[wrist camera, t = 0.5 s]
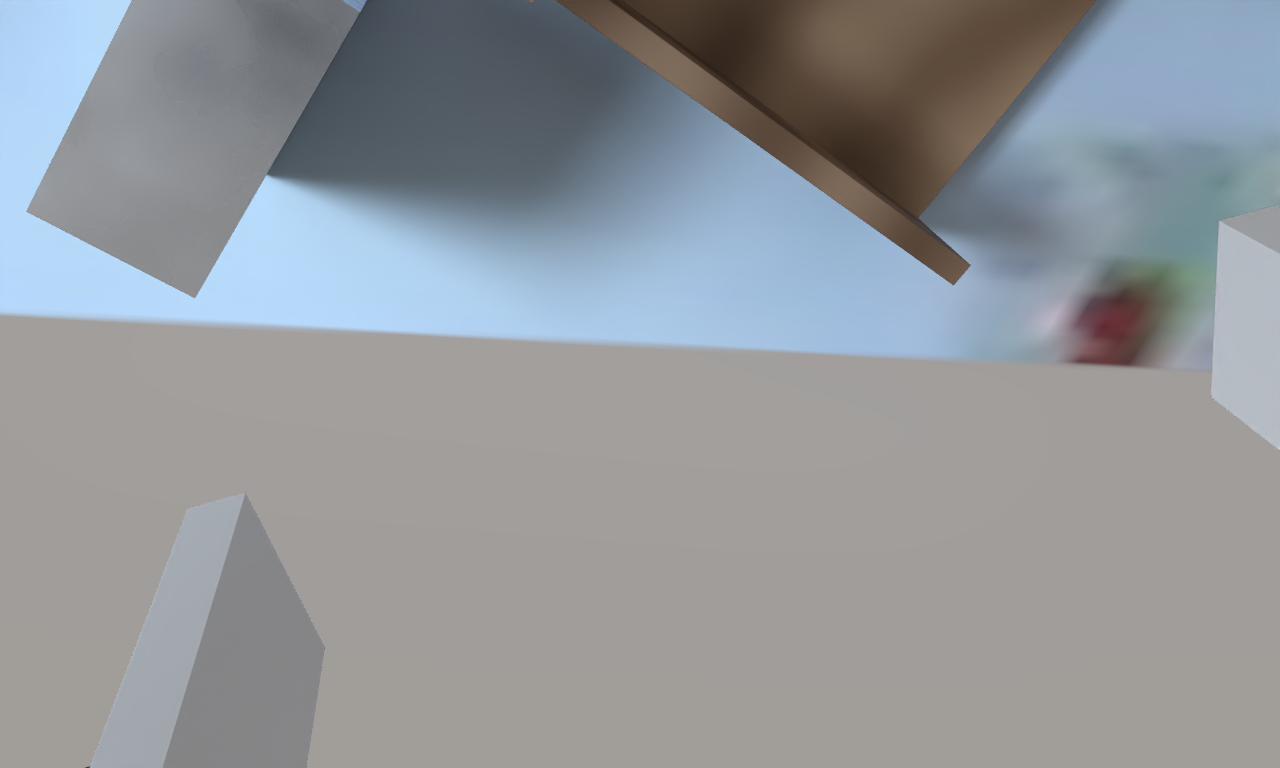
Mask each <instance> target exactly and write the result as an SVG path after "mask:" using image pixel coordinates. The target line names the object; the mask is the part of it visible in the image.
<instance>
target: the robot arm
mask: <svg viewBox="0 0 1280 768" xmlns="http://www.w3.org/2000/svg"><path fill="white" fill-rule="evenodd" d="M1211 397H1212V398H1213V399H1214V400H1216V401H1217V402H1218V403H1220V404H1221V405H1222V406H1223V407H1225V408H1226V409H1227V410H1228V411H1230V412H1231V413H1232V414H1234V415H1235V416H1236V417H1237V418H1239V419H1240V420H1241V421H1243V422H1244V423H1245V424H1247V425H1248V426H1249V427H1250V428H1252V429H1253V430H1254V431H1255V432H1257V433H1258V434H1259V435H1261V436H1262V437H1263V438H1264V439H1266V440H1267V441H1268V442H1269V443H1271V444H1272V445H1273V446H1275V447H1276V448H1277V449H1278V450H1280V208H1279V207H1277V206H1275V205H1274V206H1271V207H1267V208H1264V209H1260V210H1256V211H1253V212H1249V213H1246V214H1242V215H1239V216H1235V217H1231V218H1228V219H1224V220H1221V221H1219V234H1218V255H1217V277H1216V298H1215V319H1214V341H1213V362H1212V384H1211ZM324 649H325V647H324V645H323V643H322V641H321V639H320V637H319V635H318V633H317V631H316V629H315V627H314V625H313V623H312V621H311V619H310V617H309V615H308V613H307V612H306V609H305V608H304V606H303V604H302V602H301V600H300V598H299V596H298V594H297V592H296V590H295V588H294V586H293V584H292V582H291V580H290V578H289V576H288V574H287V572H286V571H285V569H284V566H283V564H282V563H281V561H280V559H279V557H278V555H277V553H276V551H275V549H274V547H273V545H272V543H271V541H270V539H269V537H268V535H267V533H266V531H265V529H264V527H263V525H262V523H261V521H260V519H259V518H258V516H257V514H256V512H255V510H254V508H253V506H252V504H251V502H250V500H249V498H248V496H247V494H246V493H242V494H238V495H235V496H231V497H228V498H224V499H221V500H217V501H213V502H210V503H207V504H203V505H199V506H196V507H192V508H188V509H187V512H186V514H185V517H184V520H183V522H182V525H181V528H180V530H179V533H178V536H177V538H176V541H175V543H174V546H173V549H172V551H171V554H170V557H169V559H168V562H167V565H166V567H165V570H164V572H163V575H162V578H161V580H160V583H159V586H158V589H157V591H156V594H155V596H154V599H153V602H152V604H151V607H150V610H149V612H148V615H147V617H146V620H145V623H144V626H143V628H142V631H141V633H140V636H139V639H138V641H137V644H136V646H135V649H134V652H133V654H132V657H131V660H130V662H129V665H128V668H127V670H126V673H125V676H124V678H123V681H122V684H121V686H120V689H119V691H118V694H117V697H116V700H115V702H114V705H113V707H112V710H111V713H110V715H109V718H108V721H107V723H106V726H105V729H104V731H103V734H102V737H101V739H100V742H99V744H98V747H97V750H96V752H95V755H94V758H93V760H92V763H91V765H90V767H86V768H306V767H307V760H308V753H309V747H310V741H311V734H312V728H313V721H314V715H315V708H316V701H317V695H318V688H319V682H320V675H321V669H322V662H323V656H324Z"/></svg>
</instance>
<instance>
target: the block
mask: <svg viewBox="0 0 1280 768" xmlns="http://www.w3.org/2000/svg"><path fill="white" fill-rule="evenodd" d="M366 1H367V0H132V1H131V3H130V5H129V7H128V9H127V11H126V13H125V15H124V17H123V19H122V21H121V23H120V25H119V27H118V29H117V31H116V33H115V35H114V37H113V39H112V41H111V43H110V45H109V47H108V49H107V51H106V53H105V55H104V57H103V59H102V61H101V63H100V65H99V67H98V69H97V71H96V73H95V75H94V77H93V79H92V81H91V83H90V85H89V87H88V89H87V91H86V93H85V95H84V97H83V99H82V101H81V103H80V105H79V107H78V109H77V111H76V113H75V115H74V117H73V119H72V121H71V123H70V125H69V127H68V129H67V131H66V133H65V135H64V137H63V139H62V141H61V143H60V145H59V147H58V149H57V151H56V153H55V155H54V157H53V159H52V161H51V163H50V165H49V167H48V169H47V171H46V173H45V175H44V177H43V179H42V181H41V183H40V185H39V187H38V189H37V191H36V193H35V195H34V197H33V199H32V201H31V203H30V205H29V207H28V209H27V211H26V212H28V213H30V214H32V215H34V216H36V217H38V218H40V219H42V220H44V221H46V222H48V223H50V224H51V225H53V226H55V227H57V228H59V229H61V230H63V231H65V232H67V233H69V234H71V235H73V236H75V237H77V238H79V239H81V240H83V241H85V242H86V243H88V244H90V245H92V246H94V247H96V248H98V249H100V250H102V251H104V252H106V253H108V254H110V255H112V256H114V257H116V258H118V259H120V260H122V261H123V262H125V263H127V264H129V265H131V266H133V267H135V268H137V269H139V270H141V271H143V272H145V273H147V274H149V275H151V276H153V277H155V278H157V279H158V280H160V281H162V282H164V283H166V284H168V285H170V286H172V287H174V288H176V289H178V290H180V291H182V292H184V293H186V294H188V295H190V296H192V297H194V298H195V297H196V296H197V294H198V292H199V290H200V289H201V287H202V285H203V284H204V282H205V280H206V278H207V277H208V275H209V273H210V271H211V270H212V268H213V266H214V264H215V263H216V261H217V259H218V258H219V256H220V254H221V252H222V251H223V249H224V247H225V245H226V244H227V242H228V240H229V239H230V237H231V235H232V233H233V232H234V230H235V228H236V226H237V225H238V223H239V221H240V219H241V218H242V216H243V214H244V213H245V211H246V209H247V207H248V206H249V204H250V202H251V200H252V199H253V197H254V195H255V194H256V192H257V190H258V188H259V187H260V185H261V183H262V181H263V180H264V178H265V176H266V174H267V173H268V171H269V169H270V168H271V166H272V164H273V162H274V161H275V159H276V157H277V155H278V154H279V152H280V150H281V149H282V147H283V145H284V143H285V142H286V140H287V138H288V136H289V135H290V133H291V131H292V129H293V128H294V126H295V124H296V123H297V121H298V119H299V117H300V116H301V114H302V112H303V110H304V109H305V107H306V105H307V104H308V102H309V100H310V98H311V97H312V95H313V93H314V91H315V90H316V88H317V86H318V84H319V83H320V81H321V79H322V78H323V76H324V74H325V72H326V71H327V69H328V67H329V65H330V64H331V62H332V60H333V59H334V57H335V55H336V53H337V52H338V50H339V48H340V46H341V45H342V43H343V41H344V39H345V38H346V36H347V34H348V33H349V31H350V29H351V27H352V26H353V24H354V22H355V20H356V19H357V17H358V15H359V14H360V12H361V10H362V8H363V6H364V4H365V3H366Z"/></svg>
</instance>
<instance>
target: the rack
mask: <svg viewBox="0 0 1280 768" xmlns="http://www.w3.org/2000/svg"><path fill="white" fill-rule="evenodd" d="M528 1H530V2H531V3H532V4H533V2H534V1H535V0H528ZM556 1H557V2H559V3H560V4H562V5H563V6H564V7H566V8H567V9H569V10H570V11H571V12H573V13H574V14H575V15H577V16H578V17H580V18H581V19H582V20H584V21H585V22H587V23H588V24H589V25H591V26H592V27H594V28H595V29H596V30H598V31H599V32H601V33H602V34H603V35H605V36H606V37H608V38H609V39H610V40H612V41H613V42H615V43H616V44H617V45H619V46H620V47H622V48H623V49H624V50H626V51H627V52H629V53H630V54H631V55H633V56H634V57H636V58H637V59H638V60H640V61H641V62H642V63H644V64H645V65H647V66H648V67H649V68H651V69H652V70H654V71H655V72H656V73H658V74H659V75H661V76H662V77H663V78H665V79H666V80H668V81H669V82H670V83H672V84H673V85H675V86H676V87H677V88H679V89H680V90H682V91H683V92H684V93H686V94H687V95H689V96H690V97H691V98H693V99H694V100H696V101H697V102H698V103H700V104H701V105H703V106H704V107H705V108H707V109H708V110H709V111H711V112H712V113H714V114H715V115H716V116H718V117H719V118H721V119H722V120H723V121H725V122H726V123H728V124H729V125H730V126H732V127H733V128H735V129H736V130H737V131H739V132H740V133H742V134H743V135H744V136H746V137H747V138H749V139H750V140H751V141H753V142H754V143H756V144H757V145H758V146H760V147H761V148H763V149H764V150H765V151H767V152H768V153H770V154H771V155H772V156H774V157H775V158H776V159H778V160H779V161H781V162H782V163H783V164H785V165H786V166H788V167H789V168H790V169H792V170H793V171H795V172H796V173H797V174H799V175H800V176H802V177H803V178H804V179H806V180H807V181H809V182H810V183H811V184H813V185H814V186H816V187H817V188H818V189H820V190H821V191H823V192H824V193H825V194H827V195H828V196H830V197H831V198H832V199H834V200H835V201H837V202H838V203H839V204H841V205H842V206H843V207H845V208H846V209H848V210H849V211H850V212H852V213H853V214H855V215H856V216H857V217H859V218H860V219H862V220H863V221H864V222H866V223H867V224H869V225H870V226H871V227H873V228H874V229H876V230H877V231H878V232H880V233H881V234H883V235H884V236H885V237H887V238H888V239H890V240H891V241H892V242H894V243H895V244H897V245H898V246H899V247H901V248H902V249H904V250H905V251H906V252H908V253H909V254H910V255H912V256H913V257H915V258H916V259H917V260H919V261H920V262H922V263H923V264H924V265H926V266H927V267H929V268H930V269H931V270H933V271H934V272H936V273H937V274H938V275H940V276H941V277H943V278H944V279H945V280H947V281H948V282H950V283H951V284H952V285H954V284H955V283H956V282H957V281H958V280H959V278H960V277H961V276H962V275H963V274H964V273H965V271H966V270H967V269H968V268H969V267H970V264H969V263H968V262H966V261H965V260H964V259H963V258H962V257H961V256H960V255H959V254H958V253H956V252H955V251H954V250H953V249H952V248H951V247H950V246H949V245H947V244H946V243H945V242H944V241H943V240H942V239H941V238H940V237H938V236H937V235H936V234H935V233H934V232H933V231H932V230H931V229H929V228H928V227H927V226H926V225H925V224H924V223H923V222H922V221H921V220H919V219H918V217H919V216H920V215H921V214H922V212H923V211H924V210H925V209H926V207H927V206H928V205H929V204H930V203H931V201H932V200H933V199H934V198H935V196H936V195H937V194H938V193H939V192H940V190H941V189H942V188H943V187H944V185H945V184H946V183H947V182H948V181H949V179H950V178H951V177H952V176H953V174H954V173H955V172H956V171H957V170H958V168H959V167H960V166H961V165H962V163H963V162H964V161H965V160H966V159H967V157H968V156H969V155H970V154H971V152H972V151H973V150H974V149H975V148H976V146H977V145H978V144H979V143H980V141H981V140H982V139H983V138H984V137H985V135H986V134H987V133H988V132H989V130H990V129H991V128H992V127H993V126H994V124H995V123H996V122H997V121H998V119H999V118H1000V117H1001V116H1002V115H1003V113H1004V112H1005V111H1006V110H1007V108H1008V107H1009V106H1010V105H1011V104H1012V102H1013V101H1014V100H1015V99H1016V98H1017V96H1018V95H1019V94H1020V93H1021V91H1022V90H1023V89H1024V88H1025V87H1026V85H1027V84H1028V83H1029V82H1030V80H1031V79H1032V78H1033V77H1034V76H1035V74H1036V73H1037V72H1038V71H1039V69H1040V68H1041V67H1042V66H1043V65H1044V63H1045V62H1046V61H1047V60H1048V58H1049V57H1050V56H1051V55H1052V54H1053V52H1054V51H1055V50H1056V49H1057V47H1058V46H1059V45H1060V44H1061V43H1062V41H1063V40H1064V39H1065V38H1066V36H1067V35H1068V34H1069V33H1070V32H1071V30H1072V29H1073V28H1074V27H1075V25H1076V24H1077V23H1078V22H1079V21H1080V19H1081V18H1082V17H1083V16H1084V14H1085V13H1086V12H1087V11H1088V10H1089V8H1090V7H1091V6H1092V5H1093V3H1094V2H1095V1H1096V0H556Z"/></svg>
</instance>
